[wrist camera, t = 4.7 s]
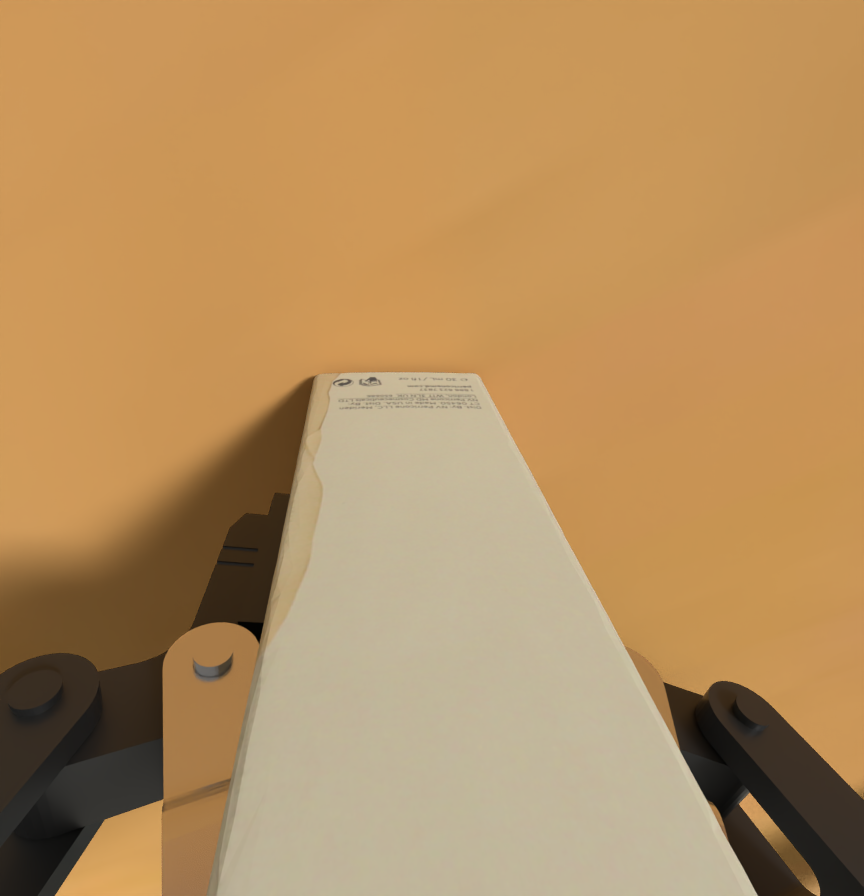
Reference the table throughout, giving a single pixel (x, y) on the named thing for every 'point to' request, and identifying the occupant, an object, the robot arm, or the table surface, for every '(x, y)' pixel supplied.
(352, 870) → the skincare box
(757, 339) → the table surface
